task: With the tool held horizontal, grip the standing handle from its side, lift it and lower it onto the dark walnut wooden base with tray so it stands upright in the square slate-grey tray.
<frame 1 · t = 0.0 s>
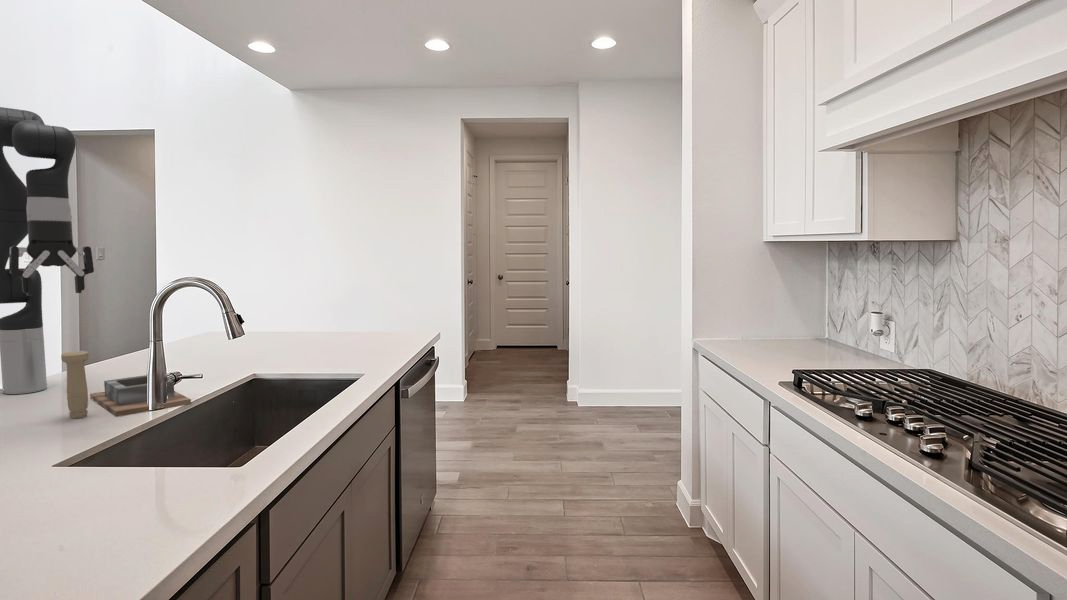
hand: (54, 294, 132), 29 cm above the worktop, tool pointing down, fingers open, 8 cm apart
handle: (78, 417, 141), on the worktop
wooden base with tray: (140, 400, 155), on the worktop
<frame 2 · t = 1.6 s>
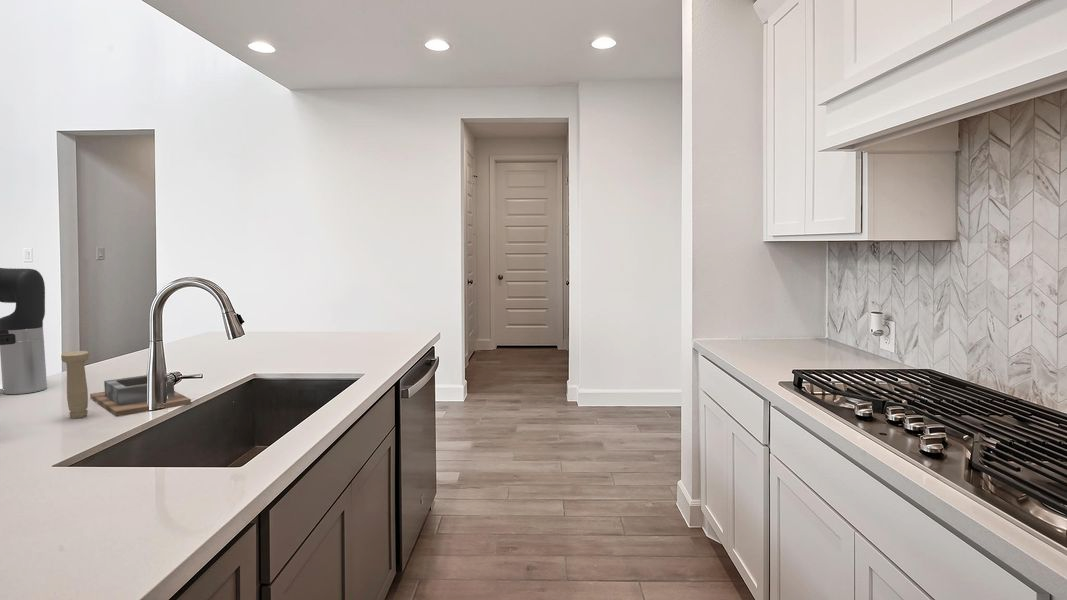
hand: (11, 336, 131), 20 cm above the worktop, tool horizontal, fingers open, 8 cm apart
nothing on the worktop moved.
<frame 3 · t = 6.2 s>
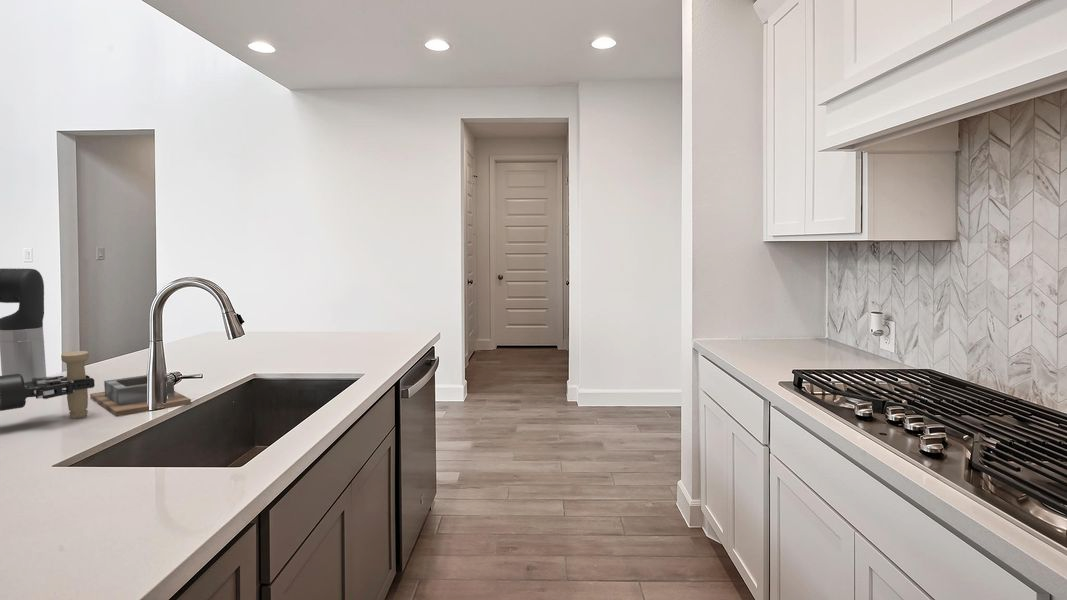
hand: (91, 381, 142), 8 cm above the worktop, tool horizontal, fingers closed on handle, 3 cm apart
handle: (78, 417, 141), on the worktop, touching gripper
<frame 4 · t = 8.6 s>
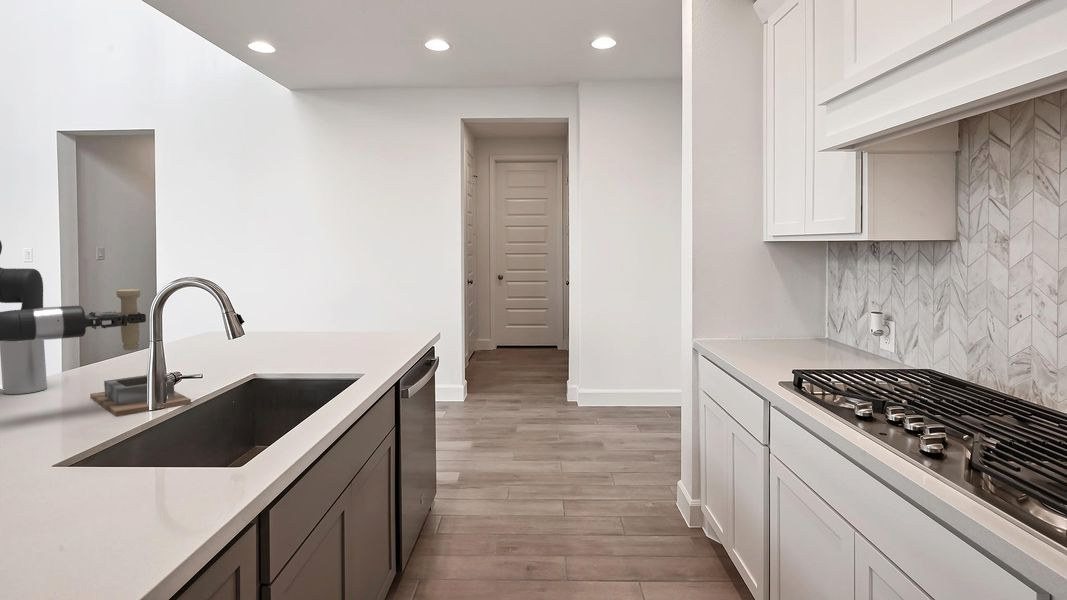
hand: (142, 317, 154), 22 cm above the worktop, tool horizontal, fingers closed on handle, 3 cm apart
handle: (131, 350, 152), point 13 cm above the worktop, touching gripper
when the fingers open (10 cm above the worktop, at t = 11.3 s): handle stays where it is, resting on wooden base with tray.
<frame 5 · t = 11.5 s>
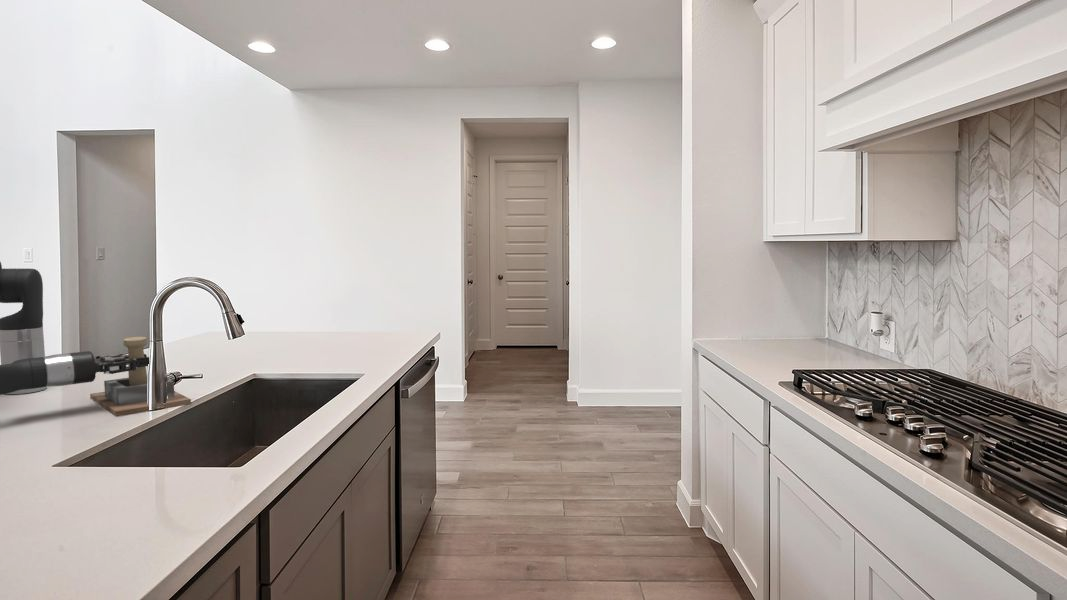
hand: (149, 359, 156), 10 cm above the worktop, tool horizontal, fingers open, 5 cm apart
handle: (139, 397, 155), point 1 cm above the worktop, touching wooden base with tray
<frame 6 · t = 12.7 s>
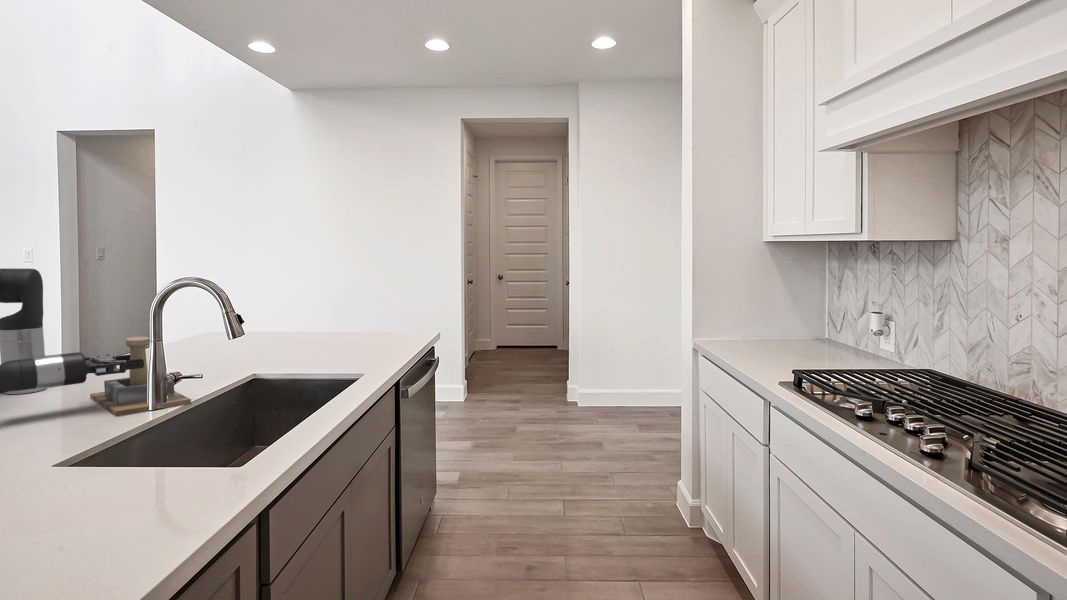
hand: (138, 360, 154), 10 cm above the worktop, tool horizontal, fingers open, 8 cm apart
nothing on the worktop moved.
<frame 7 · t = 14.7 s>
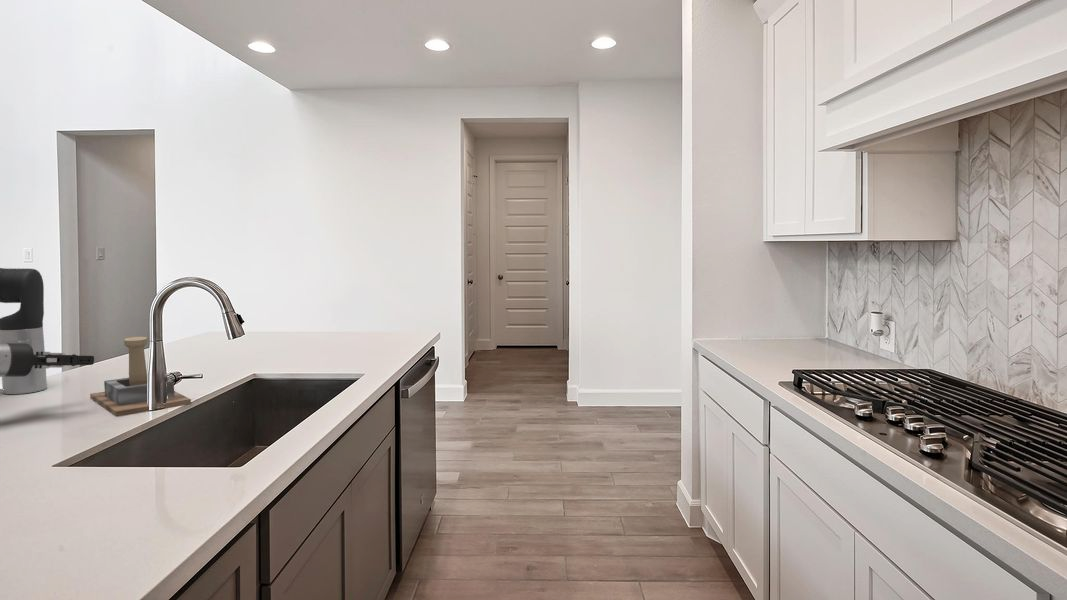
hand: (84, 360, 148), 12 cm above the worktop, tool horizontal, fingers open, 8 cm apart
nothing on the worktop moved.
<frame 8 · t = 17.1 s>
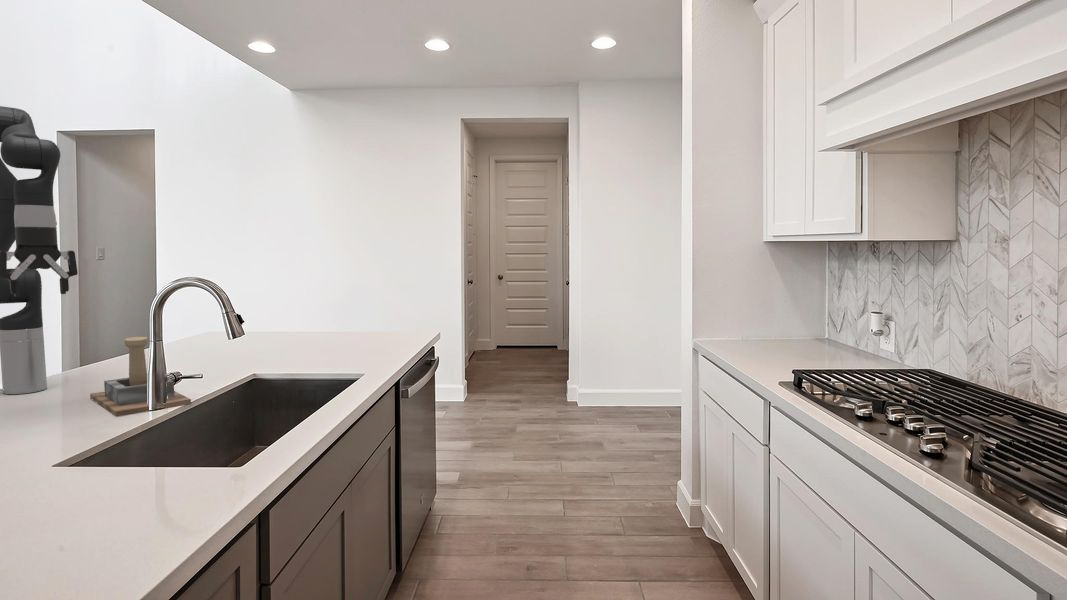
hand: (40, 295, 142), 28 cm above the worktop, tool pointing down, fingers open, 8 cm apart
nothing on the worktop moved.
at the end: handle 0.1 cm off-centre on the wooden base with tray, point 1.0 cm above the wooden base with tray's base; handle tilted 0°; the gripper is holding nothing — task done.
